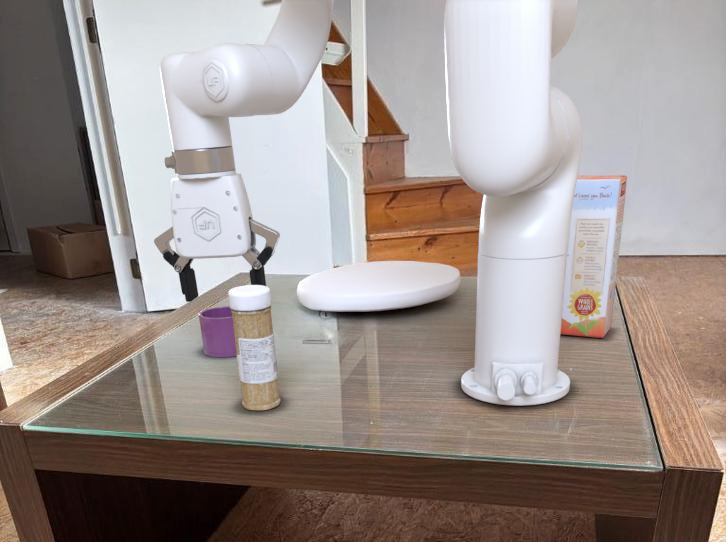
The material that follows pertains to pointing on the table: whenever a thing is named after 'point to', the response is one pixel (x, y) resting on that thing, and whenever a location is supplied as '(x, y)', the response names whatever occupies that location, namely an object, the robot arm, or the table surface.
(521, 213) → the robot arm
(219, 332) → the cup
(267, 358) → the spice jar
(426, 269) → the plate
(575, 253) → the cracker box
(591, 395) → the table surface
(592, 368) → the table surface
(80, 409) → the table surface
